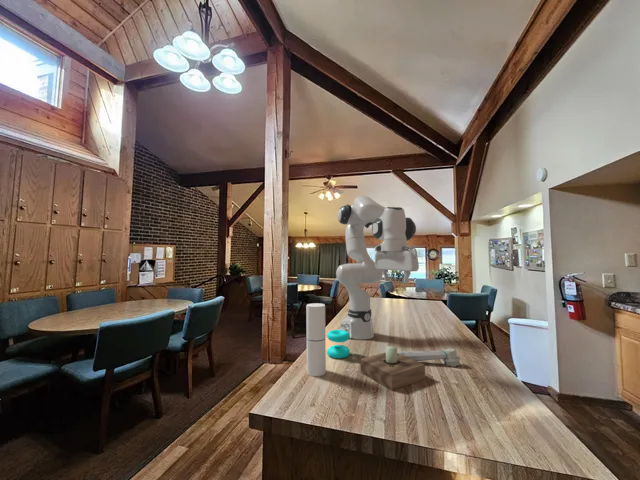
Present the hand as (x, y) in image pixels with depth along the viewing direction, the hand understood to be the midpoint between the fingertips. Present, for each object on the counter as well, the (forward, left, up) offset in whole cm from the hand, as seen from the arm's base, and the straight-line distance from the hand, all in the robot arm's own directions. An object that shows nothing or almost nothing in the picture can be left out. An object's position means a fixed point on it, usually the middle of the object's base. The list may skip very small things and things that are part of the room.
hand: (395, 282), depth 109 cm
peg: (+4, -7, -33) cm, 34 cm away
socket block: (+4, -7, -33) cm, 34 cm away
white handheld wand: (+3, +13, -34) cm, 36 cm away
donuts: (-23, -12, -33) cm, 42 cm away
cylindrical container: (-13, -29, -33) cm, 46 cm away
